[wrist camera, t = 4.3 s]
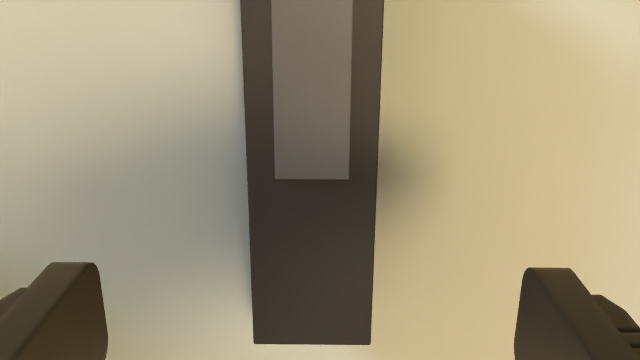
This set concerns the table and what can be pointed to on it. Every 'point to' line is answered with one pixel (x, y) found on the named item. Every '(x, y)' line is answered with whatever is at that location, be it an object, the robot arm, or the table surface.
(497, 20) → the table surface
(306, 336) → the block
